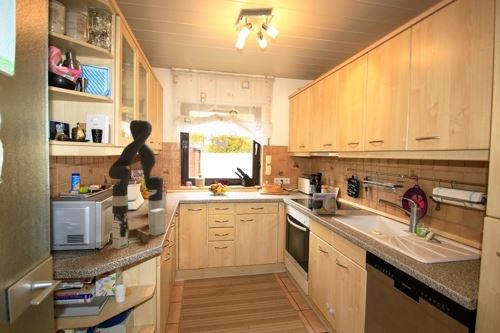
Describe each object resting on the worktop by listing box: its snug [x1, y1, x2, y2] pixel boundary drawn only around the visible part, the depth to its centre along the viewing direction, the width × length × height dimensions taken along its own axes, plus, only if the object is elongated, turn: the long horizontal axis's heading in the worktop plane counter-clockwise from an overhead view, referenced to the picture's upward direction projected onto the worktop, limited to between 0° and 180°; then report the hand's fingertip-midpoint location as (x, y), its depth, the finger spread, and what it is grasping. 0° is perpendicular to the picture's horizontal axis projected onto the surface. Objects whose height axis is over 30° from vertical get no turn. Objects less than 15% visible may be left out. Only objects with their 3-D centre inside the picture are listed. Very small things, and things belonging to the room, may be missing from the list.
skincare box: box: [148, 208, 167, 237], centre depth 161 cm, size 8×6×15 cm
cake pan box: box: [312, 192, 337, 216], centre depth 218 cm, size 19×5×18 cm, turn 94°
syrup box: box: [111, 219, 130, 250], centre depth 138 cm, size 6×6×14 cm
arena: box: [107, 227, 150, 245], centre depth 144 cm, size 16×16×5 cm
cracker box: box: [147, 187, 167, 213], centre depth 211 cm, size 14×6×21 cm, turn 66°
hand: (120, 235), depth 138 cm, fingers closed on syrup box, 6 cm apart
